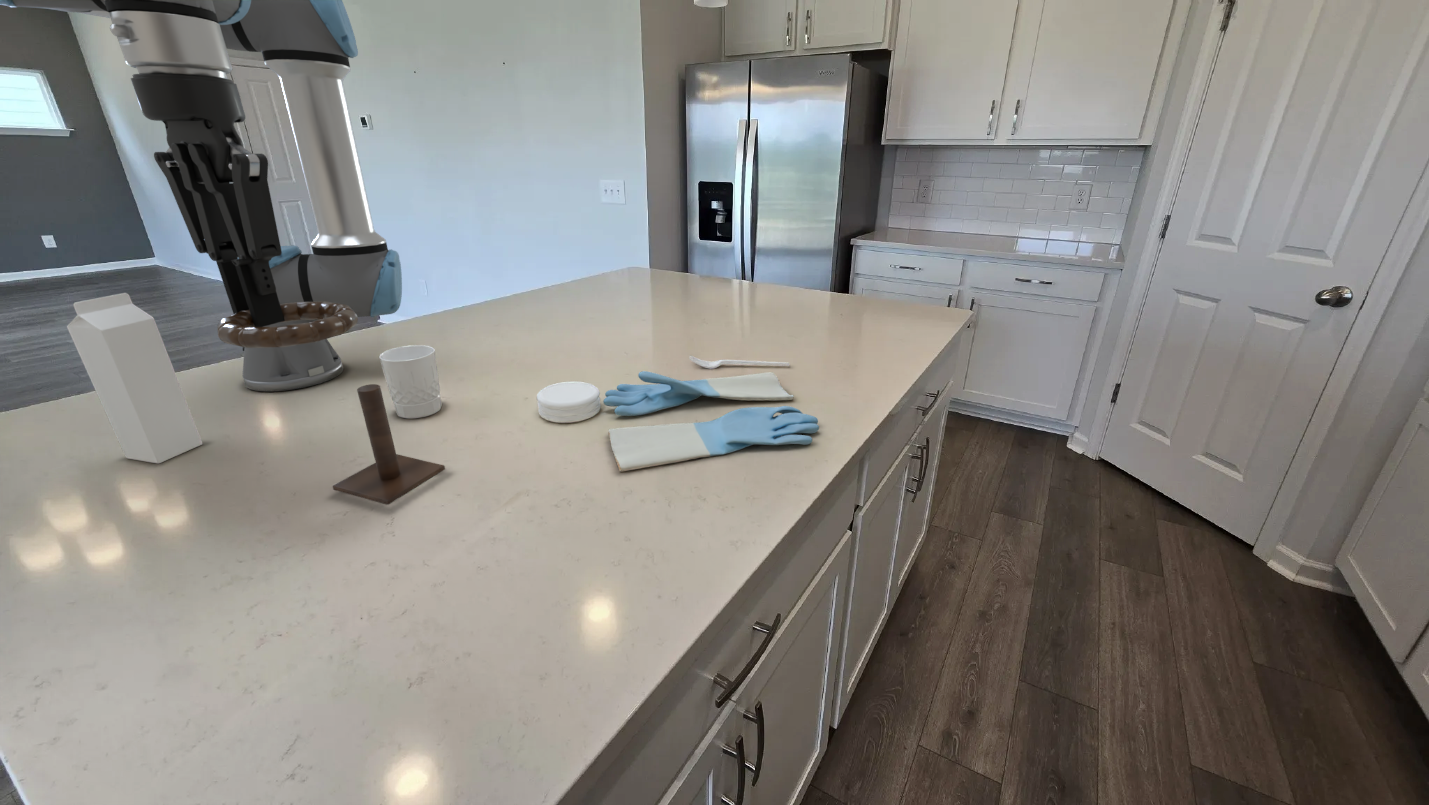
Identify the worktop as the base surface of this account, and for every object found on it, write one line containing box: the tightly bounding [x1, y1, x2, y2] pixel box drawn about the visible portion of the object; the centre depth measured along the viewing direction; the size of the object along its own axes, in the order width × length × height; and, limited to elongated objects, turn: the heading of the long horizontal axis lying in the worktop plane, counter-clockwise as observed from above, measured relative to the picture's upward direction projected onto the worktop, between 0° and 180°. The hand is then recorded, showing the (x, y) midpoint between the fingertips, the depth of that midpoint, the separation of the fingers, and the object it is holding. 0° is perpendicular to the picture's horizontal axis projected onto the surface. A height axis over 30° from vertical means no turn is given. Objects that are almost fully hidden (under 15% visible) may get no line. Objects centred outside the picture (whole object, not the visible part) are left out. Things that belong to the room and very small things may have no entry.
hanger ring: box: [216, 302, 359, 348], centre depth 61 cm, size 12×12×2 cm
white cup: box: [378, 344, 443, 419], centre depth 94 cm, size 8×8×10 cm
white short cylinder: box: [536, 380, 602, 424], centre depth 95 cm, size 10×10×4 cm
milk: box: [66, 292, 203, 464], centre depth 78 cm, size 6×6×22 cm
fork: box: [688, 354, 791, 370], centre depth 116 cm, size 3×20×2 cm, turn 89°
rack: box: [332, 383, 446, 505], centre depth 72 cm, size 9×9×14 cm
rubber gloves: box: [602, 370, 820, 472], centre depth 93 cm, size 27×33×6 cm
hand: (260, 321), depth 63 cm, fingers closed on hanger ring, 2 cm apart
